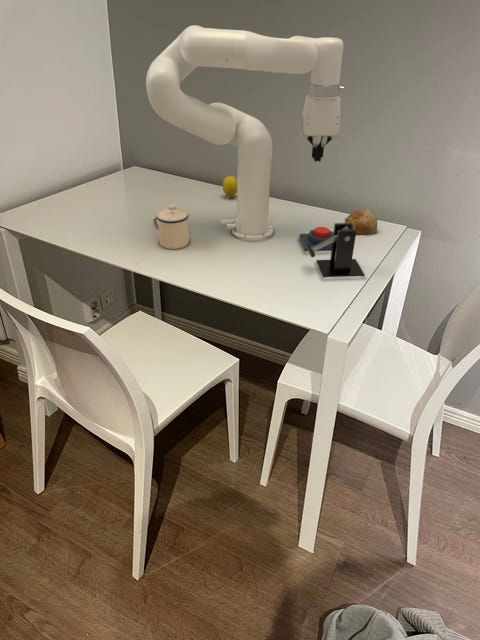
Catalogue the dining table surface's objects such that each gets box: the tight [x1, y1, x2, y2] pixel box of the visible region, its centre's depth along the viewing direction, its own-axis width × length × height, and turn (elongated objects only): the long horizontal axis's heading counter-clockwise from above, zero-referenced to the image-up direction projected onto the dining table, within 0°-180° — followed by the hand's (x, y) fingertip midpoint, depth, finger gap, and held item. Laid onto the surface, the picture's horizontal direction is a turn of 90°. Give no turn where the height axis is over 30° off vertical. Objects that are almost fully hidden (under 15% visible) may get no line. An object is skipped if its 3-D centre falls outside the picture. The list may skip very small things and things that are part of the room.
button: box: [313, 226, 331, 238], centre depth 143 cm, size 4×4×2 cm
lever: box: [307, 226, 349, 258], centre depth 128 cm, size 12×6×2 cm, turn 94°
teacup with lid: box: [152, 204, 190, 250], centre depth 144 cm, size 12×9×12 cm
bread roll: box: [344, 209, 378, 236], centre depth 154 cm, size 10×10×8 cm
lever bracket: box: [315, 222, 365, 278], centre depth 130 cm, size 11×9×13 cm
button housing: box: [299, 229, 334, 252], centre depth 144 cm, size 11×9×4 cm
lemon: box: [222, 174, 237, 198], centre depth 175 cm, size 6×6×8 cm
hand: (316, 159), depth 142 cm, fingers closed
